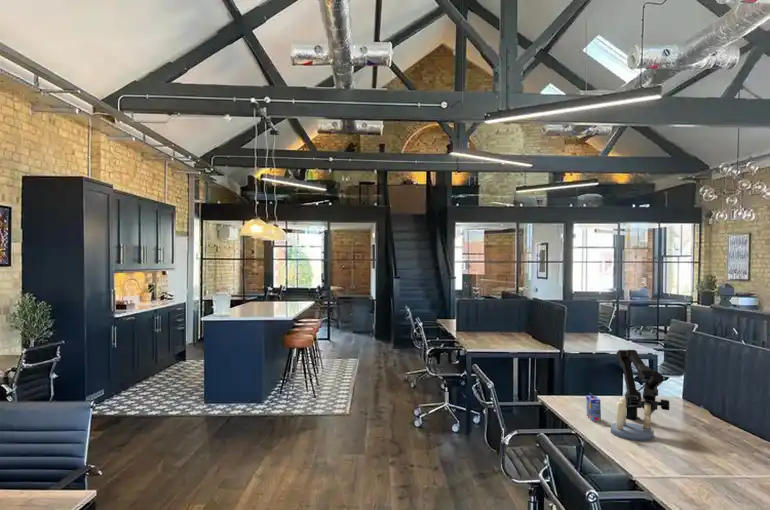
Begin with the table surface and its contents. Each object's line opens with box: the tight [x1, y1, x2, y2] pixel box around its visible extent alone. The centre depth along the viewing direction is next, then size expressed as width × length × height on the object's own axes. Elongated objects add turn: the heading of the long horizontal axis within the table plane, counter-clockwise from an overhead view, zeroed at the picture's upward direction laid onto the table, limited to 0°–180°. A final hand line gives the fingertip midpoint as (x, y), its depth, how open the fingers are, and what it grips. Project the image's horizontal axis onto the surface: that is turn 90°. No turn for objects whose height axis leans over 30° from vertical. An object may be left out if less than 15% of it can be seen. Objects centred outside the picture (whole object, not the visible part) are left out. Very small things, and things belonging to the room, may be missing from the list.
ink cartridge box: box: [585, 392, 602, 422], centre depth 292 cm, size 10×6×14 cm, turn 174°
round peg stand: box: [610, 397, 655, 442], centre depth 265 cm, size 20×20×16 cm
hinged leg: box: [643, 403, 652, 430], centre depth 263 cm, size 3×3×13 cm
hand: (648, 417), depth 264 cm, fingers closed, pressing on hinged leg
